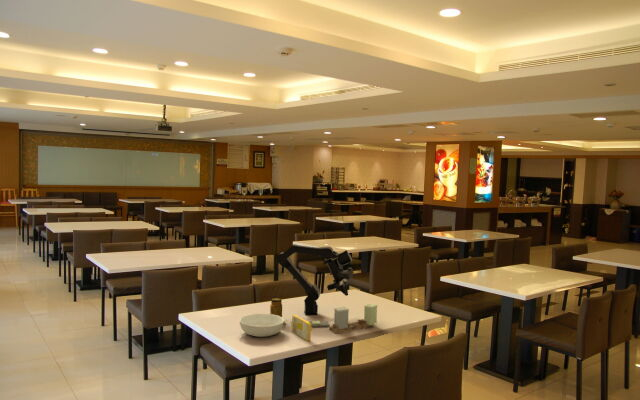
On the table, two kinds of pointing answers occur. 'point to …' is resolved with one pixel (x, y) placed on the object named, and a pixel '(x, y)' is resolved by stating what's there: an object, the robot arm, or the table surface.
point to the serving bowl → (261, 324)
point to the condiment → (276, 307)
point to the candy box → (301, 327)
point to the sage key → (370, 314)
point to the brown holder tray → (349, 326)
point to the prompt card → (319, 324)
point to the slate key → (341, 317)
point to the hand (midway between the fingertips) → (347, 295)
